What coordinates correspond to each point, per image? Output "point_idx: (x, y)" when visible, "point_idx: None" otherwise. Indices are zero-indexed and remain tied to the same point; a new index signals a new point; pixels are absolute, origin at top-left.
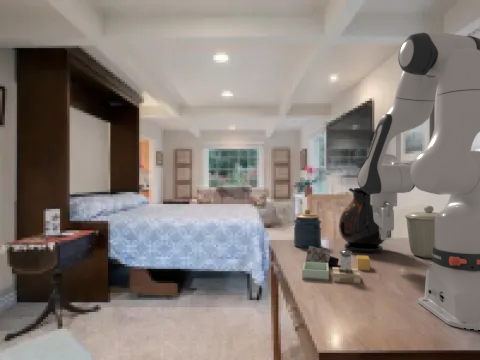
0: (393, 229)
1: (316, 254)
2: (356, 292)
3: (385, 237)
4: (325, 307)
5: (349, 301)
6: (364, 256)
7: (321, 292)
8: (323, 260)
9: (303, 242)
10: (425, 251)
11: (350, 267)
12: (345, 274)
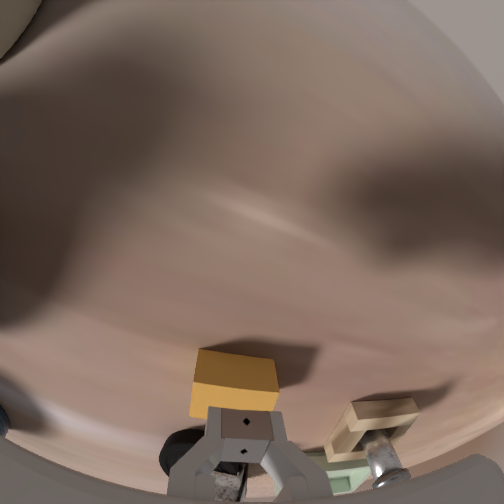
0: (483, 456)
1: (237, 497)
2: (454, 400)
3: (283, 428)
4: (476, 425)
5: (477, 405)
6: (212, 397)
7: (430, 442)
8: (247, 476)
9: (3, 432)
10: (16, 19)
11: (389, 441)
12: (401, 437)
